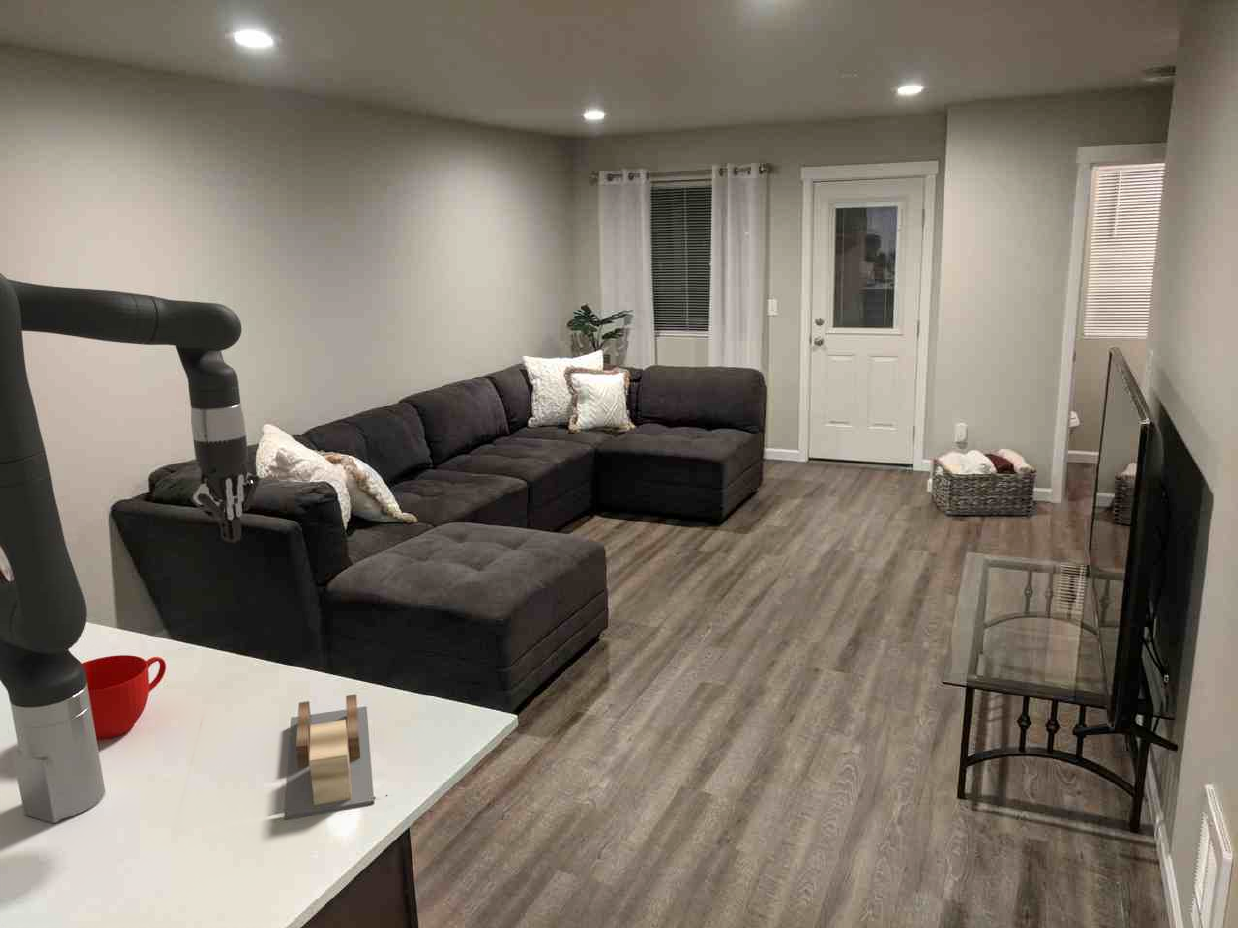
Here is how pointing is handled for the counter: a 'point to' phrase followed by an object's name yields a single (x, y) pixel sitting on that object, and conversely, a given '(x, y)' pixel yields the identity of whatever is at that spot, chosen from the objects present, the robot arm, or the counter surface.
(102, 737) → the ceramic cup
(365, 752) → the chute board
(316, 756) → the oak block
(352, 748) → the chute rails
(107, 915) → the counter surface
